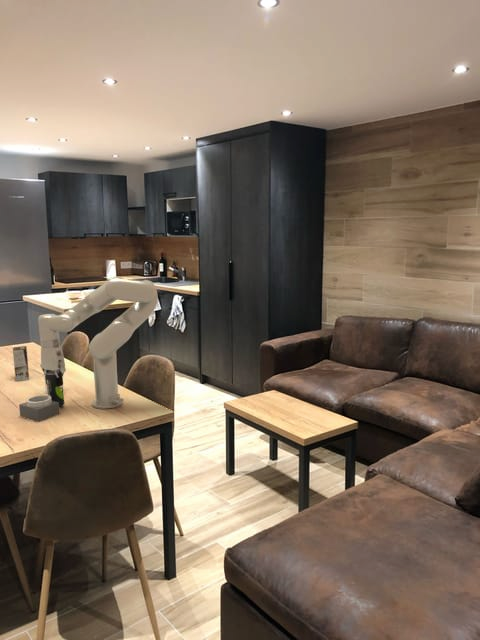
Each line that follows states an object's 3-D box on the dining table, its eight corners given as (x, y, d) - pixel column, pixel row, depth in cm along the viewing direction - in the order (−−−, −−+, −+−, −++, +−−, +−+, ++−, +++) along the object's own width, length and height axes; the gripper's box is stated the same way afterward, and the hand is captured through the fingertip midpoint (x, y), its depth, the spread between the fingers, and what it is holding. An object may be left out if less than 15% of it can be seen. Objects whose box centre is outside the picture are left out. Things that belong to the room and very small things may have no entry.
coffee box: (29, 380, 255) (26, 349, 252) (15, 381, 253) (12, 350, 250) (29, 375, 264) (26, 345, 261) (16, 376, 261) (13, 346, 258)
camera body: (59, 414, 205) (58, 397, 204) (38, 421, 197) (37, 404, 196) (41, 408, 212) (40, 393, 211) (20, 416, 204) (18, 399, 202)
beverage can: (46, 407, 213) (42, 373, 211) (58, 402, 218) (55, 369, 216) (55, 409, 210) (51, 375, 207) (67, 404, 215) (64, 371, 212)
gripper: (71, 343, 208) (75, 385, 211) (45, 340, 217) (49, 379, 220) (56, 347, 202) (60, 390, 205) (29, 343, 211) (34, 384, 214)
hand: (54, 384), depth 212 cm, fingers closed on beverage can, 6 cm apart
